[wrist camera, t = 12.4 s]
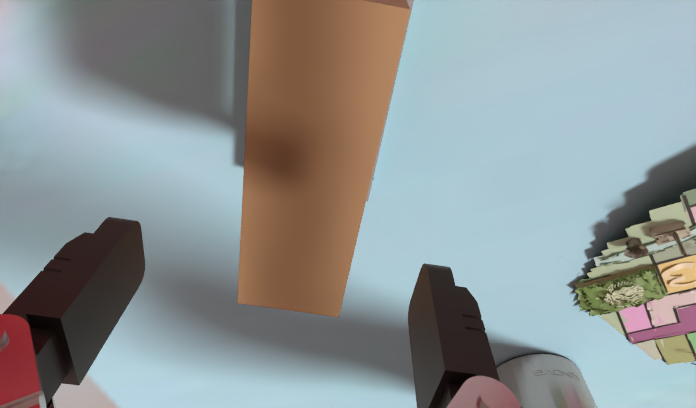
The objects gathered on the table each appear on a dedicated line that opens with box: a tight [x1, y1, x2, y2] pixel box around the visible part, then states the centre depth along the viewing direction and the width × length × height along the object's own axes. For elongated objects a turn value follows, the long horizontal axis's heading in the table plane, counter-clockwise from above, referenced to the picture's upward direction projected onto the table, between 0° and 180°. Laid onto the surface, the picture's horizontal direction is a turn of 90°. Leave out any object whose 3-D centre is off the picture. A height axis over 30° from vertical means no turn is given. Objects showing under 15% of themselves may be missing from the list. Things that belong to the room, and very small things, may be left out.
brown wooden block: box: [237, 0, 411, 317], centre depth 19 cm, size 4×13×6 cm, turn 170°
